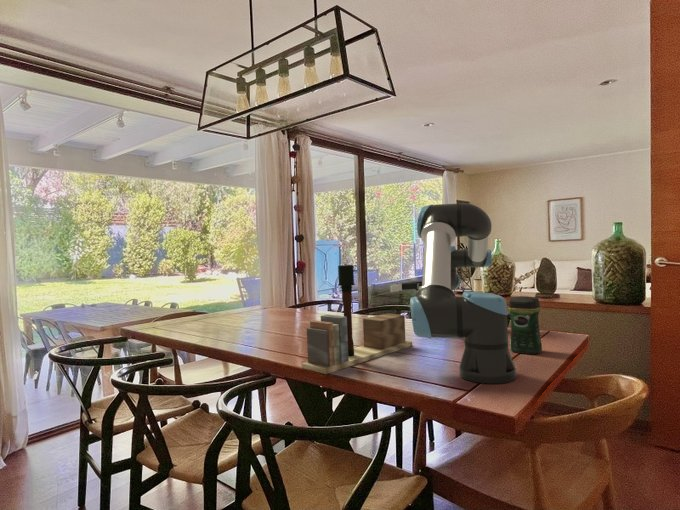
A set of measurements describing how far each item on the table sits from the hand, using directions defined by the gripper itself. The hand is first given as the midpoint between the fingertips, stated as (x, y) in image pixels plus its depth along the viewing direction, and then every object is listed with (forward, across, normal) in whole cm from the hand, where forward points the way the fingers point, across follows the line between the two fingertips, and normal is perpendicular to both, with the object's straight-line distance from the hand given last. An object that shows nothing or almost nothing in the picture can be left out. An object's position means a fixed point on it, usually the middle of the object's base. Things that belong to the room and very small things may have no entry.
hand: (405, 289), depth 170 cm
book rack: (+26, 0, -20) cm, 33 cm away
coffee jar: (-10, -42, -20) cm, 47 cm away
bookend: (+14, 0, -19) cm, 23 cm away
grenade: (+32, 0, -19) cm, 37 cm away
